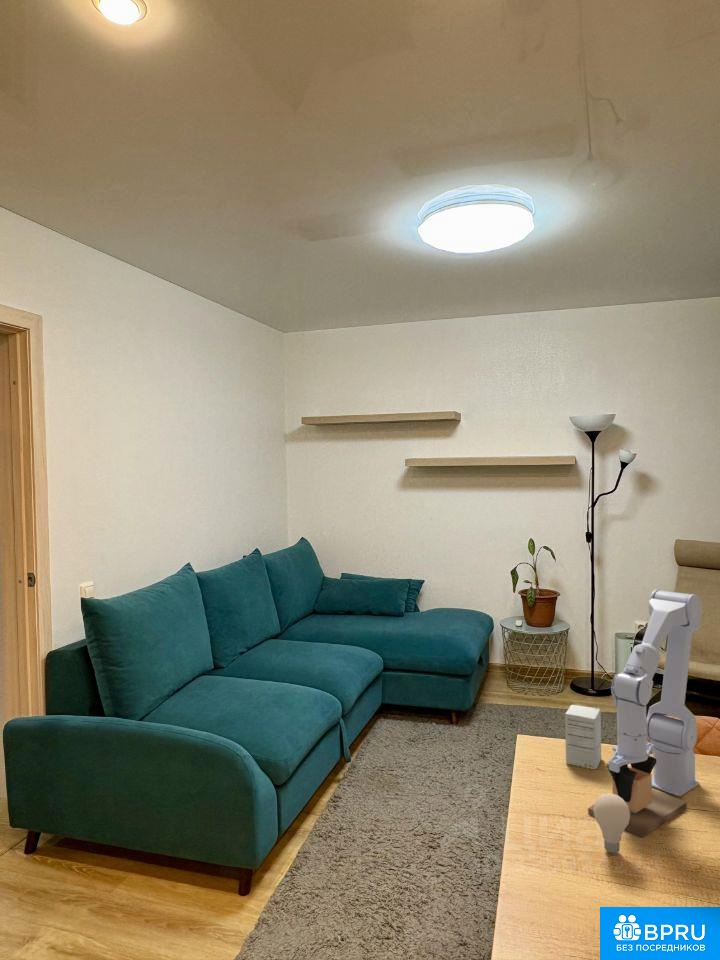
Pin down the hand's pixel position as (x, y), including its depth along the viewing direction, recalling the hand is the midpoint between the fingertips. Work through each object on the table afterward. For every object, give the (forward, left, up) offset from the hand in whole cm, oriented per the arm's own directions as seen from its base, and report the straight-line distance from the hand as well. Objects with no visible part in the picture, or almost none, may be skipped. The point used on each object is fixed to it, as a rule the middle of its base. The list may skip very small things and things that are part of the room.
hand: (632, 795), depth 141 cm
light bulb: (+16, +5, -4) cm, 17 cm away
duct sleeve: (0, 0, -1) cm, 1 cm away
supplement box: (-14, -21, -4) cm, 26 cm away
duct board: (-2, 0, -4) cm, 4 cm away
